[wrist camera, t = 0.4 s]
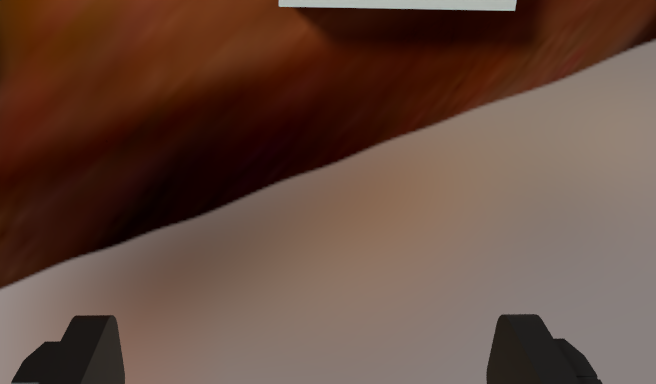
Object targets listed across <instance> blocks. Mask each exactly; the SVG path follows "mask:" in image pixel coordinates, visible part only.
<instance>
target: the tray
mask: <svg viewBox="0 0 656 384" xmlns="http://www.w3.org/2000/svg"><path fill="white" fill-rule="evenodd" d="M516 1H517V0H279V7H331V8H387V9H443V10H499V11H515V7H516Z"/></svg>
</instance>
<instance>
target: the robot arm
mask: <svg viewBox="0 0 656 384" xmlns="http://www.w3.org/2000/svg"><path fill="white" fill-rule="evenodd" d="M11 384H125V373H124V365H123V358H122V352H121V345H120V339H119V332H118V325H117V321H116V318H115V317H114V316H113V315H107V316H104V315H103V316H102V315H100V316H75V317H74V318H73V319H72V320H71V322H70V324H69V326H68V328H67V330H66V332H65V334H64V335H63V337H62V339H61V341H60V342H44V343H43V344H42V345H41V346H40V347H39V348H37V349H36V350H35V351H34V352H33V353H32V354H30V355H29V356H28V357H27V358H26V359H25V360H24V361H23V362H22V364H21V366H20V368H19V370H18V371H17V373H16V375H15V376H14V378H13V380H12V382H11ZM487 384H602V382H601V380H598V379H597V374H596V373H595V371H594V370H593V368H592V367H591V365H590V364H589V362H588V360H587V359H586V357H585V356H584V355H583V354H582V353H581V352H579V351H578V350H577V349H576V348H574V347H573V346H572V345H571V344H570V343H568V342H567V341H566V340H565V339H553V337H552V336H551V334H550V332H549V331H548V329H547V327H546V326H545V324H544V322H543V321H542V319H541V318H540V317H539V316H538V315H534V314H524V315H523V314H522V315H521V314H519V315H501V316H500V317H499V319H498V321H497V325H496V330H495V334H494V339H493V344H492V348H491V353H490V357H489V362H488V366H487Z"/></svg>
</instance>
